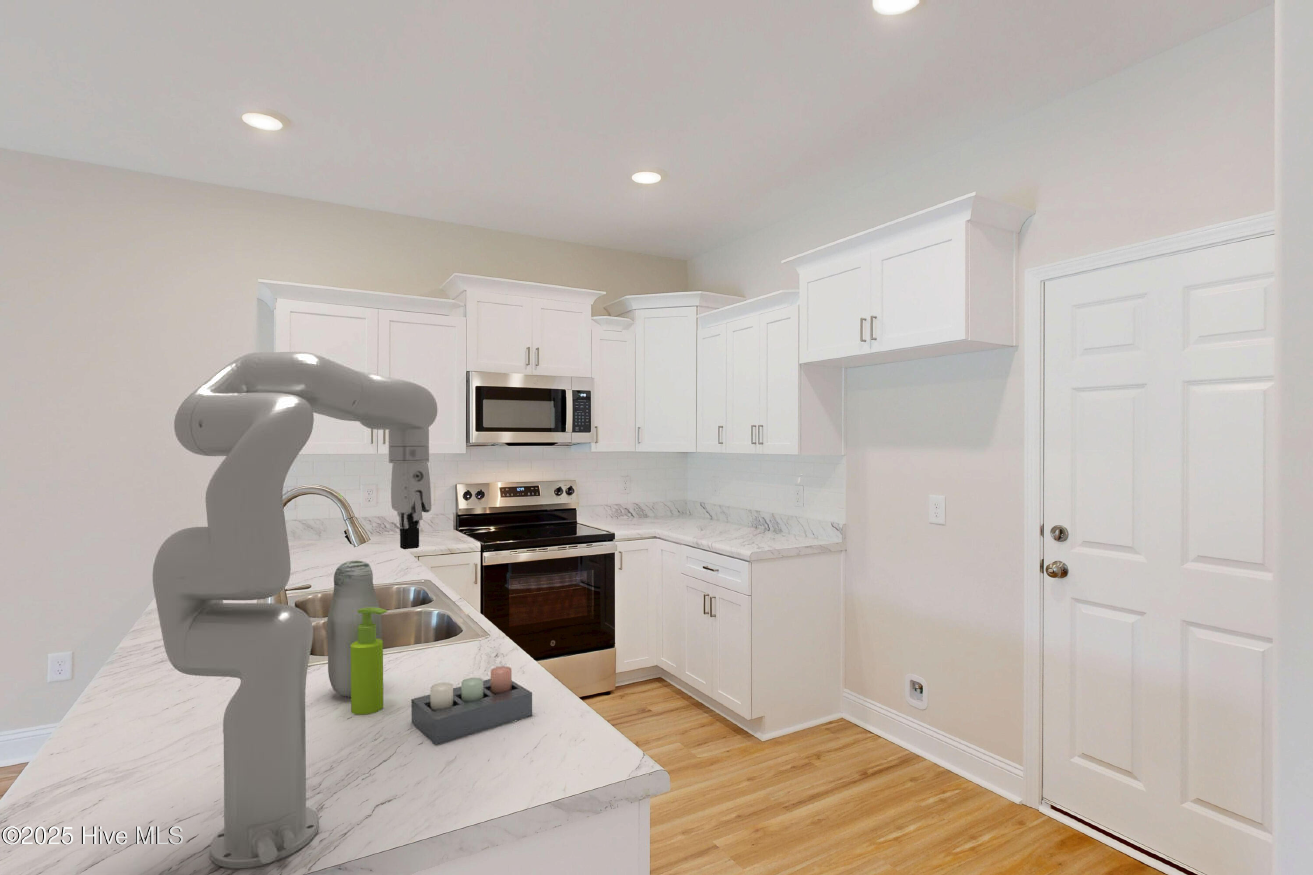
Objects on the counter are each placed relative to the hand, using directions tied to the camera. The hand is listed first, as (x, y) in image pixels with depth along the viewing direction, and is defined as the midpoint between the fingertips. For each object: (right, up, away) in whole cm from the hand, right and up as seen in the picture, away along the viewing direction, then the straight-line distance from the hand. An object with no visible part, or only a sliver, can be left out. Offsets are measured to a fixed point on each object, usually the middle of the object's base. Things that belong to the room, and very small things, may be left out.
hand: (409, 548), depth 132 cm
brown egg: (+18, -29, -1) cm, 34 cm away
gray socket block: (+14, -32, -4) cm, 35 cm away
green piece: (+14, -30, -4) cm, 33 cm away
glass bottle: (-15, -32, +9) cm, 37 cm away
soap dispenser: (-8, -32, +1) cm, 33 cm away
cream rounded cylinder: (+9, -29, -8) cm, 32 cm away
